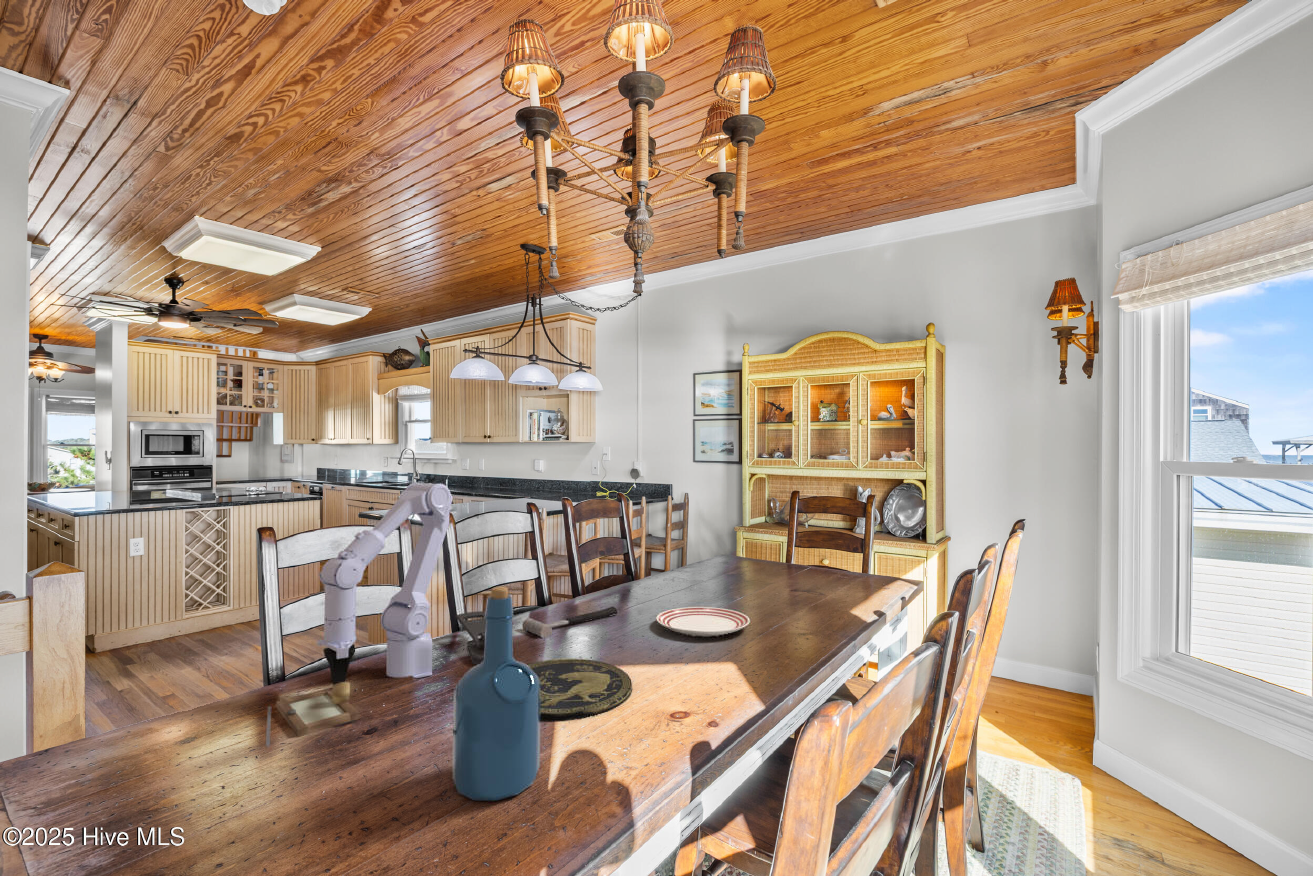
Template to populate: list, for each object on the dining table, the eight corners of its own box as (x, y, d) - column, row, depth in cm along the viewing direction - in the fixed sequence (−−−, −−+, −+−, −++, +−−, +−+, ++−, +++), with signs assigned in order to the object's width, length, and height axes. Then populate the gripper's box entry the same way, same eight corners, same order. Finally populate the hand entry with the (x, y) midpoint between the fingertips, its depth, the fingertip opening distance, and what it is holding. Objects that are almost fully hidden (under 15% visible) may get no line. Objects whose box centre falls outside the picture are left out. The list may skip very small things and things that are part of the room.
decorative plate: (464, 705, 115) (527, 652, 145) (464, 714, 115) (527, 660, 144) (611, 721, 109) (645, 663, 139) (611, 732, 109) (645, 672, 139)
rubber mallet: (624, 608, 181) (541, 627, 161) (623, 620, 181) (540, 640, 160) (604, 602, 188) (522, 619, 168) (604, 613, 188) (522, 632, 167)
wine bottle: (437, 779, 92) (440, 587, 93) (511, 749, 101) (514, 575, 102) (479, 818, 82) (483, 604, 83) (557, 782, 92) (560, 589, 92)
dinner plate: (644, 618, 181) (645, 608, 181) (726, 612, 189) (726, 602, 190) (674, 647, 155) (674, 635, 155) (766, 638, 163) (766, 626, 163)
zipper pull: (486, 609, 165) (513, 634, 144) (485, 633, 165) (512, 661, 143) (453, 614, 160) (476, 640, 139) (452, 638, 160) (475, 668, 139)
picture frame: (336, 692, 122) (336, 671, 122) (362, 717, 111) (363, 695, 111) (276, 707, 114) (276, 686, 114) (298, 736, 103) (298, 712, 103)
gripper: (316, 611, 125) (314, 675, 125) (319, 629, 113) (318, 700, 113) (353, 606, 129) (351, 669, 129) (360, 623, 117) (359, 692, 116)
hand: (338, 683), depth 121 cm, fingers closed
